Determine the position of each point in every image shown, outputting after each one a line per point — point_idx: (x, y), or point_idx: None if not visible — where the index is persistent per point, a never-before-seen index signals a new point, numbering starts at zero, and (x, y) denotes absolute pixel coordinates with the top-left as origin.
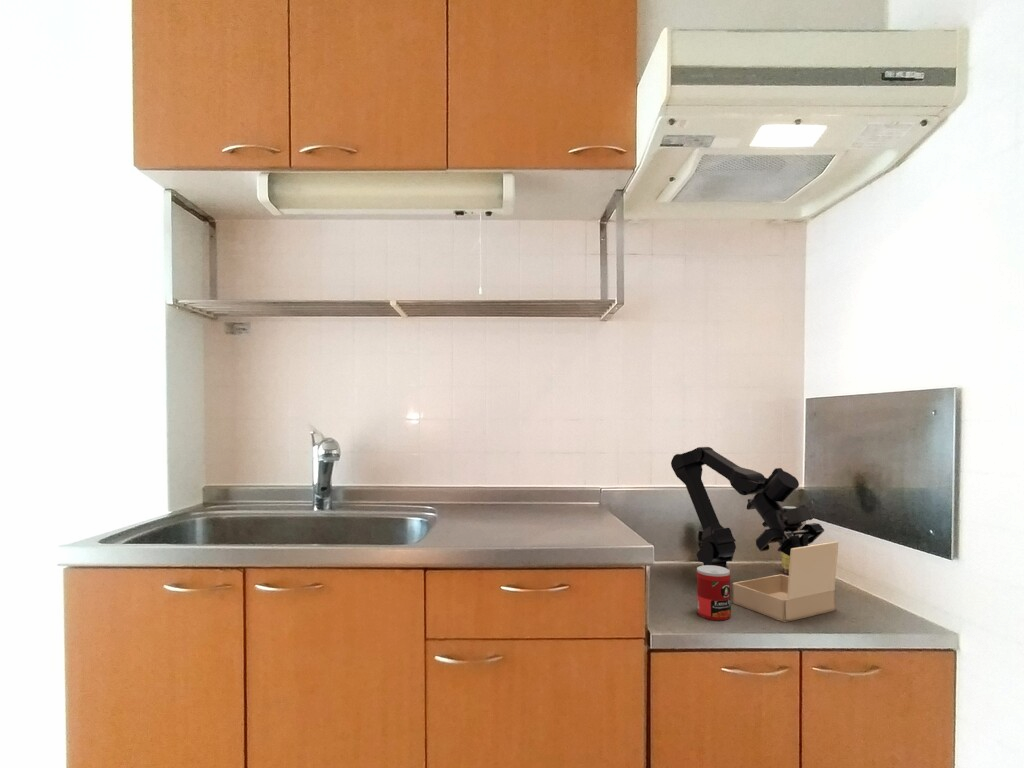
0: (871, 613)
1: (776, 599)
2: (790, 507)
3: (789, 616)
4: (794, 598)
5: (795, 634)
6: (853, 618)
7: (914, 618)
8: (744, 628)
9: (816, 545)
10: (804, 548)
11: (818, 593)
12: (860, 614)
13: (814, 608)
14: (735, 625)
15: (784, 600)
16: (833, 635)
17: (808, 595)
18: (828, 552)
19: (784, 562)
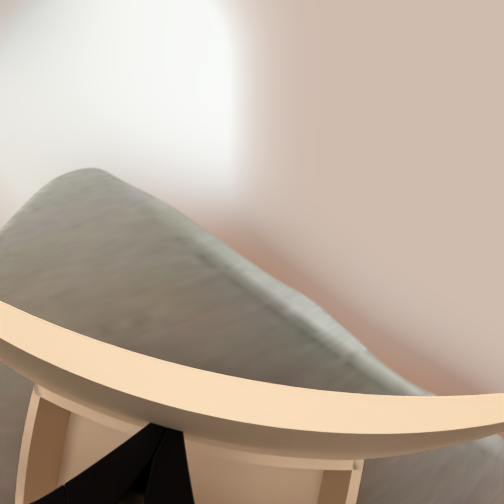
0: (34, 306)
1: (355, 493)
2: None
3: None
4: (298, 458)
5: (391, 372)
6: (108, 328)
7: (24, 224)
8: (453, 463)
9: (106, 345)
10: (421, 401)
11: (131, 424)
12: (59, 325)
13: None
14: (451, 488)
15: (361, 459)
16: (311, 307)
17: (200, 443)
18: None
19: None
